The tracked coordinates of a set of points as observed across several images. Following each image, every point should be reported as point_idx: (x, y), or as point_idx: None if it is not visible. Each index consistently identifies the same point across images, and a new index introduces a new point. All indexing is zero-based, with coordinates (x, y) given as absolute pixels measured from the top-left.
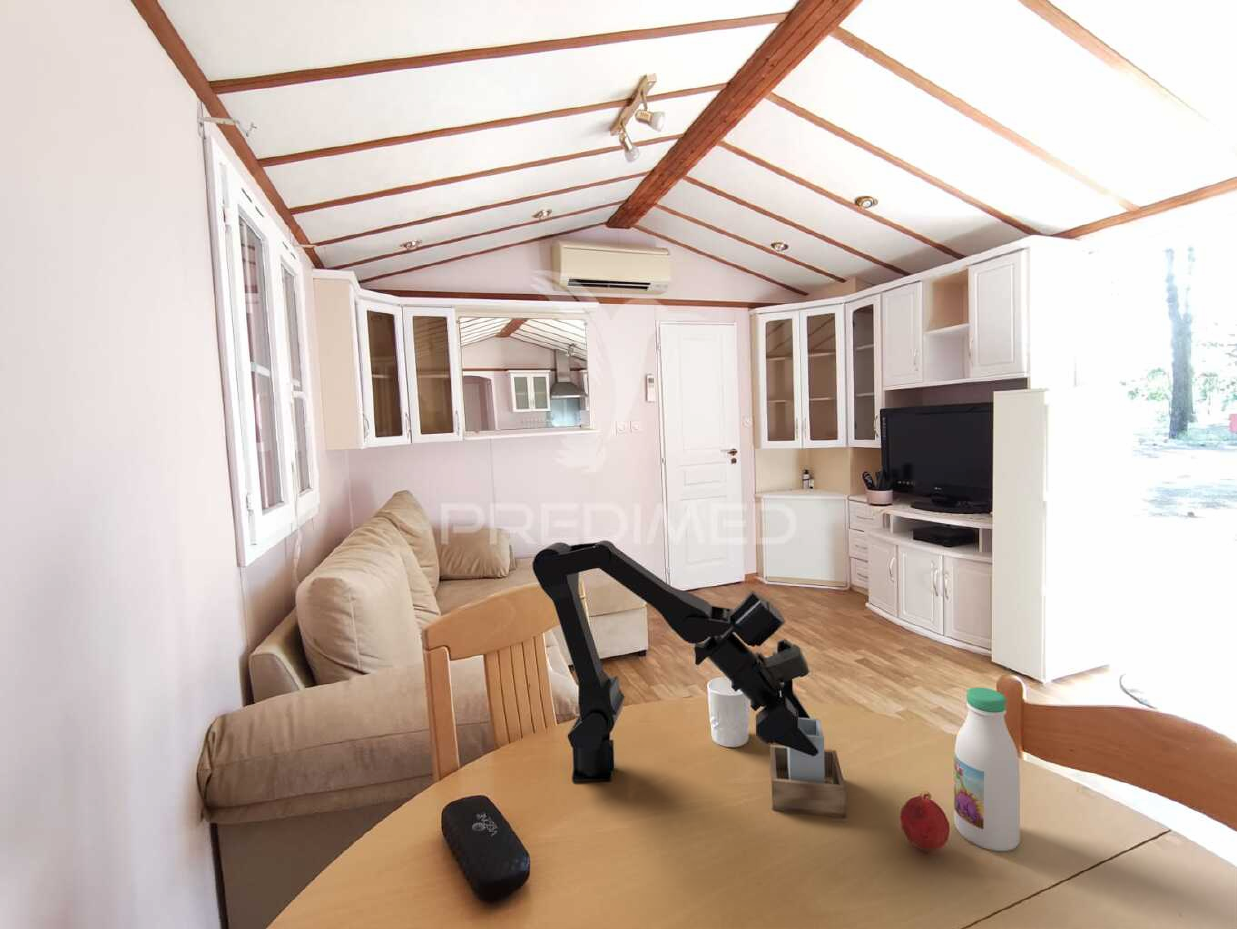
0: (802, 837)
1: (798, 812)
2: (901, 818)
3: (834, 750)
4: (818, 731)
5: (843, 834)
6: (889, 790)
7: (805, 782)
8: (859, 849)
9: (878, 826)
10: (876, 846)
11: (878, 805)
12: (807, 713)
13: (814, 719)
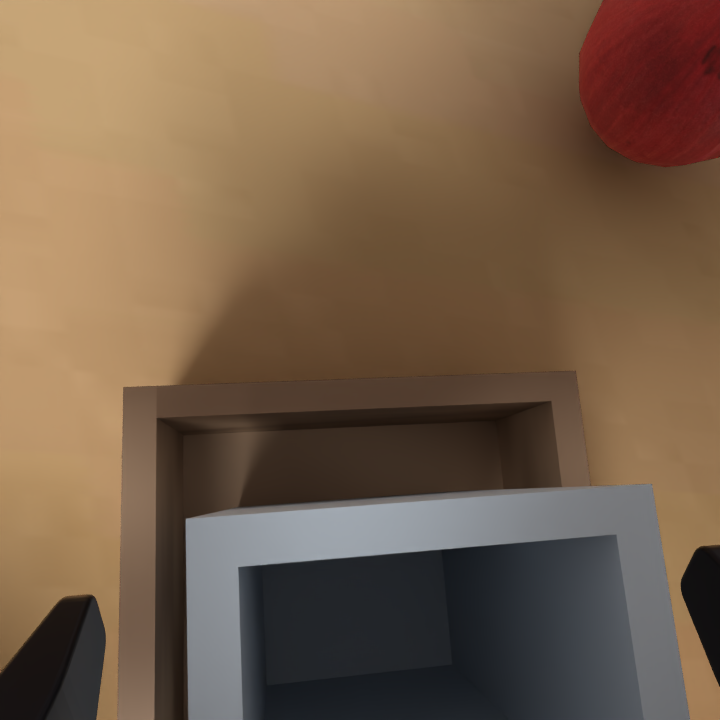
0: None
1: None
2: (718, 141)
3: (126, 397)
4: (526, 541)
5: (625, 421)
6: (234, 171)
7: None
8: (696, 367)
9: (526, 269)
10: (655, 298)
11: (372, 242)
12: (13, 678)
13: (215, 582)
